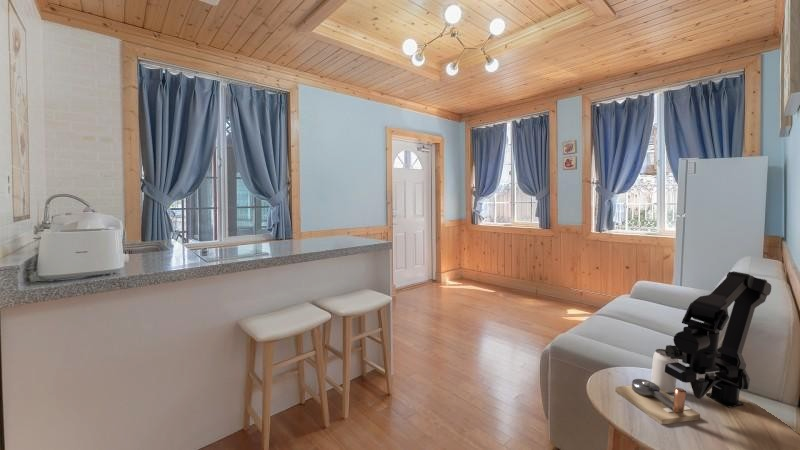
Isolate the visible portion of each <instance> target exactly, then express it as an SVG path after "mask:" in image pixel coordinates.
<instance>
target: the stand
mask: <svg viewBox="0 0 800 450" xmlns="http://www.w3.org/2000/svg"><path fill="white" fill-rule="evenodd" d="M614 390H615V391H614V392H615V393H617V394H618V395H619V396H621V397H622V398H623V399H625V400H627V401H628V402H629V403H631V404H632V405H633V406H635V407H636V408H637V409H639V410H640V411H642V412H643V413H645V415H647V416H648V417H650V418H652V419H653V420H654V421H655V422H657V423H658V424H660V425H669V424H675V423H676V424H677V423H683V422H690V421H696V420H697V421H698V420H700V418H701V414H700V413H699V412H698V411H696V410H694V409H692V408H690V407H689V406H687V405H686V404H684V413H683V414H680V413H677V412H675V411H673V409H672V408H671V407H669V406H668V405H666V404H665V403H663V402H662V401H660V400H659V399H658V398H650V397H645V396H642V395H640V394H638V393H636V392H635V391H634V390H633V389H632V384H630V385H621V386H615V389H614ZM659 393H661V394H662V395H664V396H665V397H667V398H668V399H670V400H671V401H673V402H674V396H672V395H670V394H669V393H665V392H664V391H662V390H660V392H659Z"/></svg>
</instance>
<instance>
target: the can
mask: <svg viewBox="0 0 800 450" xmlns="http://www.w3.org/2000/svg"><path fill="white" fill-rule="evenodd" d="M665 349H666V348H665ZM665 349H664V348H656V349H655V352H654V353H653V356H652V357H653V358H652V365H651V372H650V373H651V375H650V376H651V377H650V382H653V383H655V384H656V385H657V386H659V388H660V390H662V391H664V392H665V393H667V394H673V393H675V388H677V379H676V378H674V377H673V376H671V375H669V374H667V373H666V372H665V365H666V364H668V363H677V362H678V363H679V359H671V358H670V357H668V356H667V355H666V353H665Z"/></svg>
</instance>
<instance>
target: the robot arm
mask: <svg viewBox="0 0 800 450" xmlns="http://www.w3.org/2000/svg"><path fill="white" fill-rule="evenodd" d="M771 292H772V284H771V283H769V282H768V280H767V279H765V278H759V277H755V276H753V275H751V274H750V273H746V272H745V273H744V272H739V271H728V273H727V275H726V277H725V278H724V280H722V282H720V283H719V284H718V285H717V286H716V288H715V289H713V291H712V292H710V293H709V294H707V295H701V296H699V297H697V298H696V299H694V300H693V301H692V302H690V304H688V305H689V306H688V307H687V310H686V312H685V314H684V317H683V318H682V320H681V323H682V324H683V325H687V326H684V327H683V330H680V331H678V332H676V333H675V335H674V336H673V343H674V345H672V344H670V345H669V344H667V345H665V353H666V355H667V356H668V357H670V358H671V359H678V360H681V362H682V363H684V364H687V365H688V366H686V365H684V364H682V363H680V362H679V361H678V362H677V363H668V364H666V365H665V372H666V373H667V374H669V375H671V376H673V377H674V378H676V380H677V381H680V382H681V383H686V384H687V383H690V387H691V389H692V393H693V396H694V397H695V398H696V399H697V400H701V399H703V397H704V396H705V395H706V396H707V397H708V398H711V399H712V400H714V401H715V402H718V403H720V404H721V405H723V406H725V407H727V408H733V407H739V406H740V407H741V406H744V405H745V403H744V402H743V401H741V400H739V399H740V393H741V392H740V391H742V390H746V391H747V390H749V387H750V381H751V378H750V377H749V374H748V372H747V371H746V369H747V364H746V361H745V358H744V356H743V350H744V347H745V344H746V340H747V336H748V334H749V330H750V326H751V323H752V319H753V316H754V312H755V309H756V308H757V307H759V306H761V305H762V304H764V303H765V302H766V299H767V297H768V296H769V295H770V294H771ZM732 304H733V305H732ZM731 305H732V309H731V313H730V315H729V312H728V311H729V310H728V309H729V307H730V306H731ZM726 324H727V326H726ZM725 326H726V330H725V332H724V337H723V339H722V343H721V346H720V347H719V339H720V331H723V329H725ZM710 390H711V391H710ZM709 391H710V392H709Z"/></svg>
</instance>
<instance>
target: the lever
mask: <svg viewBox="0 0 800 450" xmlns="http://www.w3.org/2000/svg"><path fill="white" fill-rule="evenodd" d="M631 382H632V383H631V385H632V389H633V390H634V391H635V392H636V393H638V394H640V395H642V396H645V397H650V398H658V399H659V400H660V401H662V402H663V403H665V404H666V405H668V406H669V407H671V408H672V409H673V411H675V412H677V413H680V414H683V413H684V404H685V402H686V395H687V391H686V390H685V389H683V388H681V387H675V391H674V392H673V393H674V395H673V398H674V402H673V401H671V400H670V399H668V398H667V397H665V396H664V395H662V394H661V393H659V392H660V388H659V386H657V385H656V384H655V383H653V382H651V380H647V379H644V378H643V379H642V378H634V379H632V381H631ZM685 405H686V404H685Z"/></svg>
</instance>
